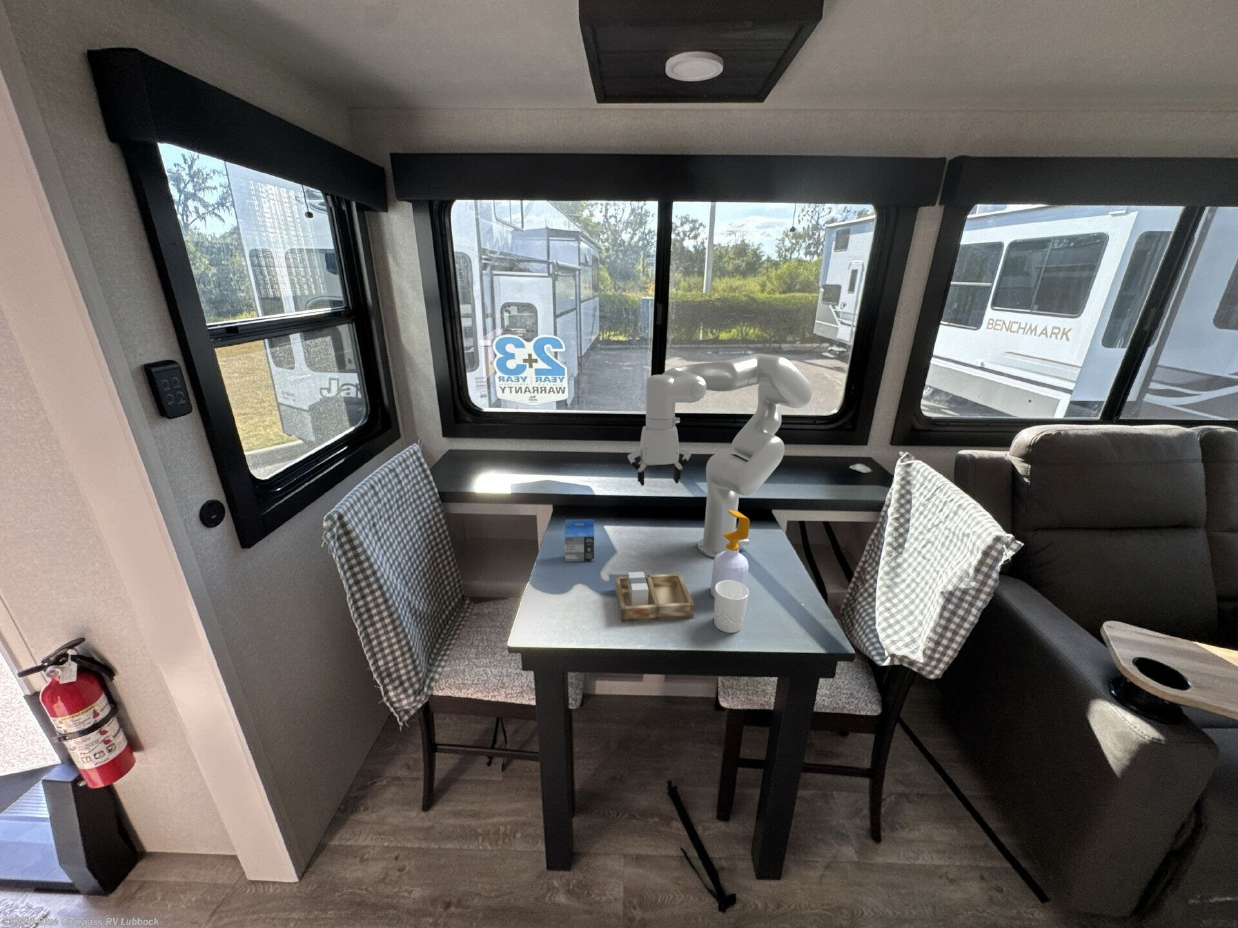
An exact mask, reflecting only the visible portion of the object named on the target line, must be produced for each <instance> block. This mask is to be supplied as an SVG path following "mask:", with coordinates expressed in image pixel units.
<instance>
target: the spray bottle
mask: <svg viewBox="0 0 1238 928" xmlns="http://www.w3.org/2000/svg"><path fill="white" fill-rule="evenodd" d="M728 512H729V513H730V514H732V515H733V516H734V517H737V519H738V526H737V529H735V531H734V532H728V533H724V534H723V536H724V537H725V538H726V539H728V540H729V541H730V543H728V544H727V545H726V551H723V552H721V553H719V554H717V555H716V557H715V558H713V562H712V563H713V564H712V573H711V584H710V594H711V596H712V597H713V598H714V599H715V586H716V584H717V583H718V582H721V581H725V580H731V581H736V582H739V583H741V584H743V585H745V586H746V587H747V583H748V574H749V567H750V566H749V562H748V559H747V558H746V557H745V556H744V555H743V554H742V553H740V545H738V544H736V543H737V542H739V540H744V539H748V536H749V531H750V524H751V521H750V519H749V518H748V517H747V516H745V515H744V514H743V513H741V511H739V510H737V511H733V510H728Z"/></svg>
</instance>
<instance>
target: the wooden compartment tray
mask: <svg viewBox="0 0 1238 928" xmlns="http://www.w3.org/2000/svg"><path fill="white" fill-rule="evenodd" d="M644 576H645V578H646V581H647V586H648V605H637V606H631V604H630V600H629V595H628V575H627V576H626V575H625V576H623V575H622V576H614V577H615V578H614V579H615V584H614V585H615V587H614V589H615V590H614V591H615V595H616V601H617V605H618V612H619V616H620V622H621V624H622V623H638V622H639V623H640V622H654V621H655V622H656V621H668V620H685V619H686V620H687V619H688V620H689V619H694V613H695V612H694V609H695V603H694V602H693V598H692V596H691V594H690V592H689V590H688V588H687V585H686V583H685V580H684V578H683V575H682V574H681V573H667V574H666V573H664V574H663V573H662V574H648V575H646V574H644Z"/></svg>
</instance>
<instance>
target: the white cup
mask: <svg viewBox="0 0 1238 928" xmlns="http://www.w3.org/2000/svg"><path fill="white" fill-rule="evenodd" d="M749 593H750V591H749V588H748V587H747V585H746V586H745V585H743V584H741V583H739V582H736V581H731V580H725V581H721V582H718V583H717V584H716V586H715V598H714V604H713V610H714V611H713V614H714V617H713V618H714V619H713V620H714V621H713V622H714V625H715V627H716V629H718V630H720V631H721V632H724V633H728V634H733V633H734V634H735V633H737V632H740V631H741V629H742V628H743V622H744V619H745V616H746V615H745V614H746V612H747V611H746V610H747V605H748V599H749Z"/></svg>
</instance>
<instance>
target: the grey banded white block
mask: <svg viewBox="0 0 1238 928" xmlns="http://www.w3.org/2000/svg"><path fill="white" fill-rule="evenodd" d="M644 575H645V573H644V571H632V572H630V571H629V572H628V573H627V576H628V595H629V600H630V604H631V606H637V605H648V586H647V581H646V578H645V576H644Z"/></svg>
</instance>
